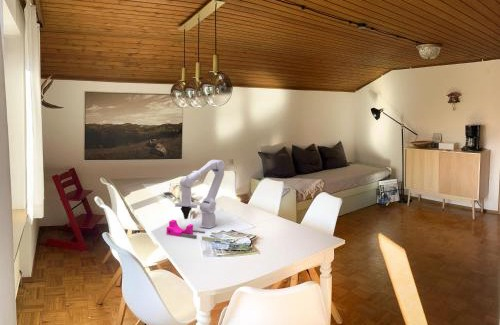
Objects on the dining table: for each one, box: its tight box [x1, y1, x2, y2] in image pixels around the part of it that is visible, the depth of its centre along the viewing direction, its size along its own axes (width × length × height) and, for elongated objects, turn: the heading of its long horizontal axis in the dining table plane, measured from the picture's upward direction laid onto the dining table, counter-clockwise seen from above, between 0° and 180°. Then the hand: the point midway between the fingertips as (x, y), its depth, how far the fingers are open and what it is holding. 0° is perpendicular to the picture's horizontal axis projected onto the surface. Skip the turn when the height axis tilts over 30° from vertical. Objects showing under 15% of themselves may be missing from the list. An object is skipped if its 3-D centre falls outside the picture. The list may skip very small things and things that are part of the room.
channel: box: [181, 229, 206, 240], centre depth 236 cm, size 11×18×2 cm, turn 68°
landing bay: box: [201, 231, 232, 243], centre depth 228 cm, size 13×19×2 cm, turn 68°
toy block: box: [165, 219, 194, 238], centre depth 235 cm, size 15×6×8 cm, turn 65°
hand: (186, 218), depth 240 cm, fingers closed
